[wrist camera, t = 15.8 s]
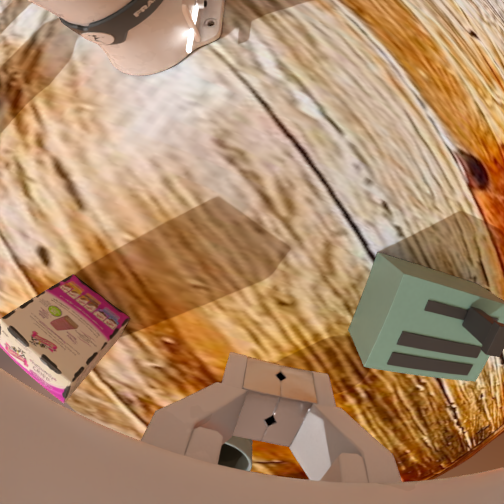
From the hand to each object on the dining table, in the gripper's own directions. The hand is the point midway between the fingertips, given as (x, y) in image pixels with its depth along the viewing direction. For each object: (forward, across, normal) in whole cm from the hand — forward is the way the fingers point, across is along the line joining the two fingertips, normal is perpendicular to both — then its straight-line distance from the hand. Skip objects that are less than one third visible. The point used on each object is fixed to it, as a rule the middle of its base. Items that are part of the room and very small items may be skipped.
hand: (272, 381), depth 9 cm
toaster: (+29, -22, +5) cm, 37 cm away
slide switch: (+20, -24, +2) cm, 31 cm away
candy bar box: (+29, +22, +18) cm, 41 cm away
